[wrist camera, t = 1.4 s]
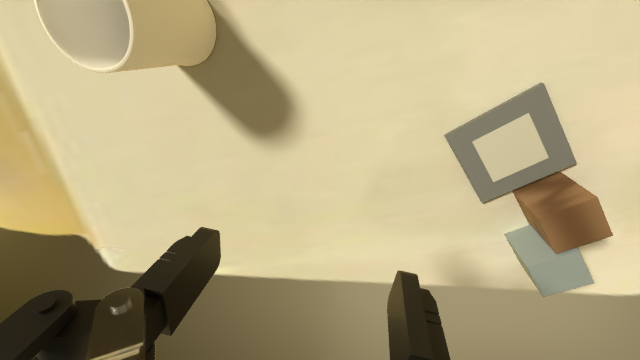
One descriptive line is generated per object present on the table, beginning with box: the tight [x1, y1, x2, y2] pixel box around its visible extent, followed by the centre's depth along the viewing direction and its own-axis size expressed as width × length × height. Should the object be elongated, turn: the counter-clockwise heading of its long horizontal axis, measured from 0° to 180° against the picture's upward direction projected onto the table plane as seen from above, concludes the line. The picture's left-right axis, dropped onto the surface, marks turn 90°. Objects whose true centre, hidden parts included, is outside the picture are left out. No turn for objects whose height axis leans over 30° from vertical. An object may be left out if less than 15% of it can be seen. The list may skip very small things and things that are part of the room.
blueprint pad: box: [444, 83, 576, 203], centre depth 31 cm, size 10×10×1 cm
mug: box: [34, 0, 216, 73], centre depth 25 cm, size 12×8×12 cm
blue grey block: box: [504, 225, 594, 297], centre depth 33 cm, size 5×5×6 cm
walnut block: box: [513, 171, 613, 254], centre depth 30 cm, size 5×5×6 cm
